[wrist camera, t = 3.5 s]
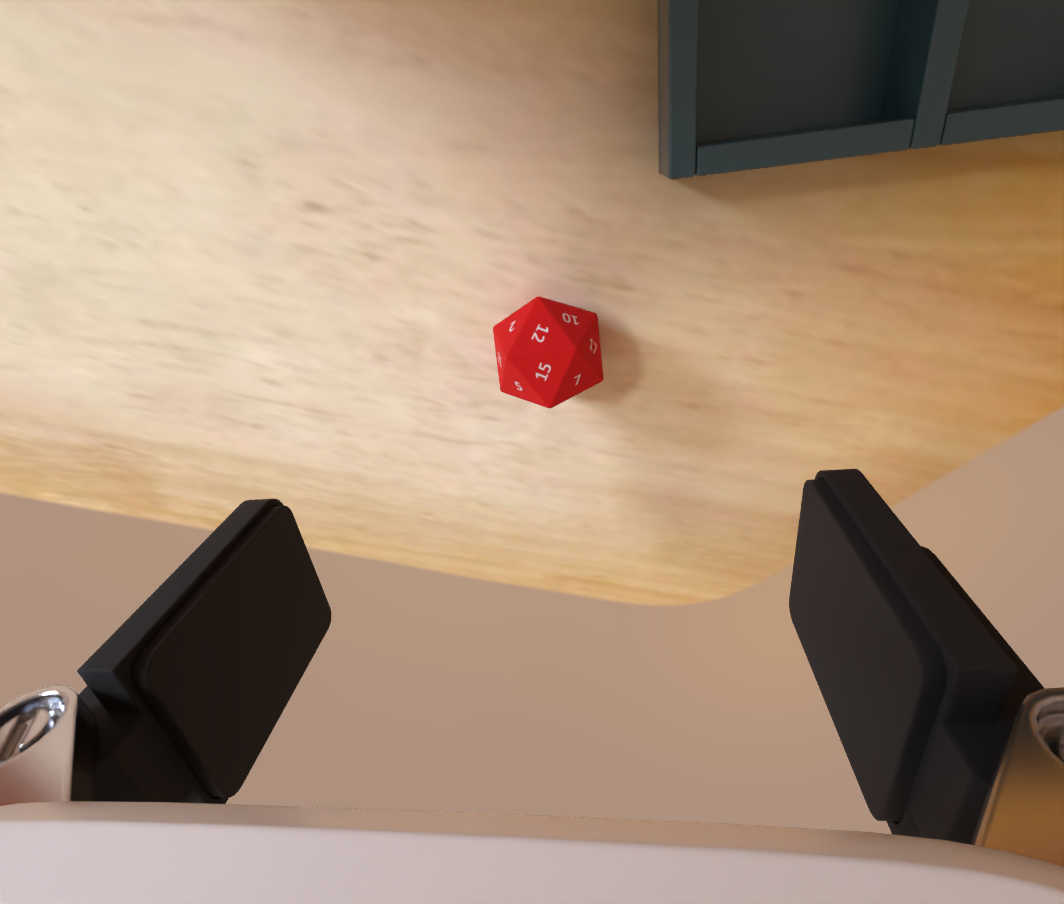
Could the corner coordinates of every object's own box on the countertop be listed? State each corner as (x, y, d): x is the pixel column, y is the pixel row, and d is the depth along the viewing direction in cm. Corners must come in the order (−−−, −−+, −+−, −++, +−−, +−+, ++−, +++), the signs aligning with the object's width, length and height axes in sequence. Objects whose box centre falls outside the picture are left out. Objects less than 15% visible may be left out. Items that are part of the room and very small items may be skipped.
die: (521, 426, 20) (571, 433, 17) (457, 354, 19) (496, 345, 16) (585, 359, 21) (646, 352, 17) (528, 287, 20) (581, 262, 16)
